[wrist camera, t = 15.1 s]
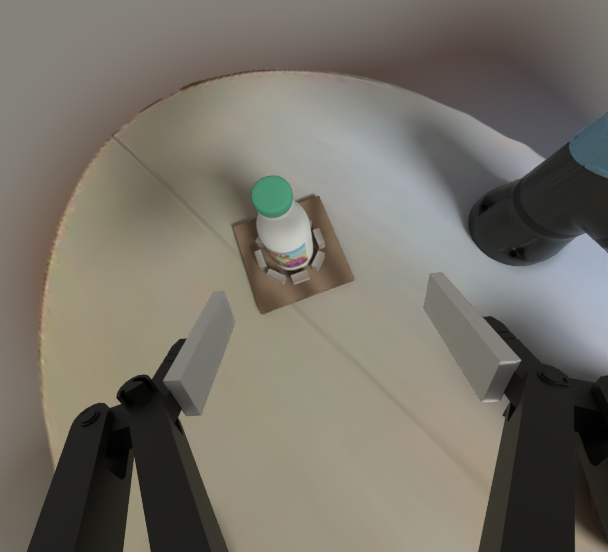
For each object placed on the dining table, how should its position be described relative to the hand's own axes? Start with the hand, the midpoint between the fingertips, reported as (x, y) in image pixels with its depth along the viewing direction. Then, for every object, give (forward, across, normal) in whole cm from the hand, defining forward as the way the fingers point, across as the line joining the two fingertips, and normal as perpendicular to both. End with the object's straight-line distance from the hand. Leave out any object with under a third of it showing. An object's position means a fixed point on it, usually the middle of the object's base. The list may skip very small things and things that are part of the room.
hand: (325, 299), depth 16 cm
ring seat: (+30, -6, -11) cm, 32 cm away
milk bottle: (+29, -5, -10) cm, 31 cm away
